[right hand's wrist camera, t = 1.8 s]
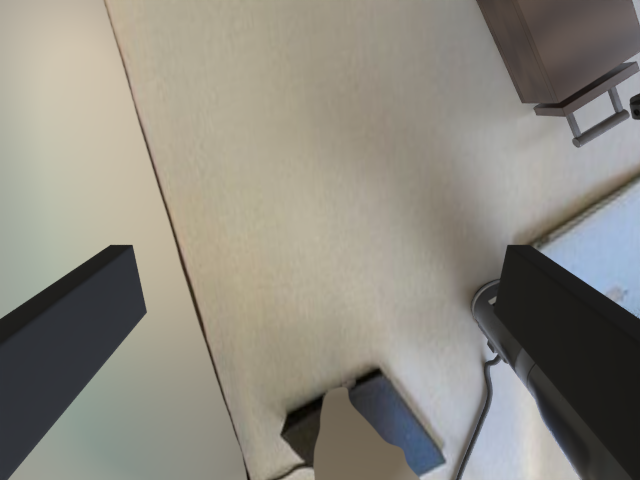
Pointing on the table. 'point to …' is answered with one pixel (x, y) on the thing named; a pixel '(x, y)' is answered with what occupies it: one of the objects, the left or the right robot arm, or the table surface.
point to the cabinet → (561, 42)
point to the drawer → (587, 95)
